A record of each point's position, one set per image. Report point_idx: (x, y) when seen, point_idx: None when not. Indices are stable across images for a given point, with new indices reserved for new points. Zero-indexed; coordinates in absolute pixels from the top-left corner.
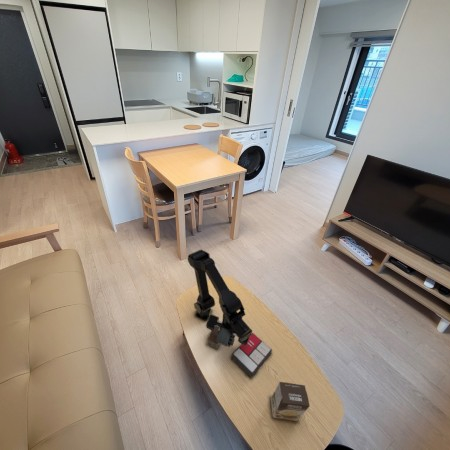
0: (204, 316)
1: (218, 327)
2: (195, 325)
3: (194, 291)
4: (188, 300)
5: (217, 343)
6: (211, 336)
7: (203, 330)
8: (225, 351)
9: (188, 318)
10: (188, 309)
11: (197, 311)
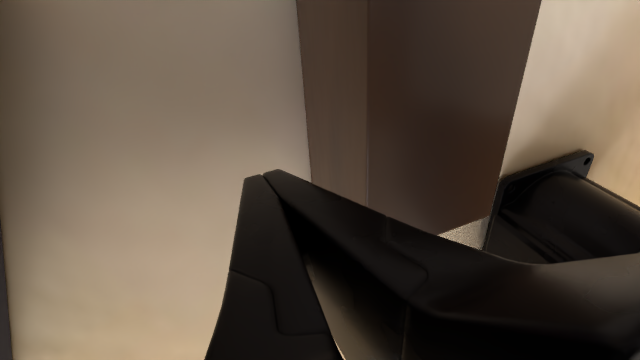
0: (542, 199)
1: (437, 228)
2: (579, 78)
3: None
4: None
5: (379, 2)
6: (500, 57)
7: None
8: (166, 12)
9: (633, 94)
10: (631, 154)
11: (608, 193)
